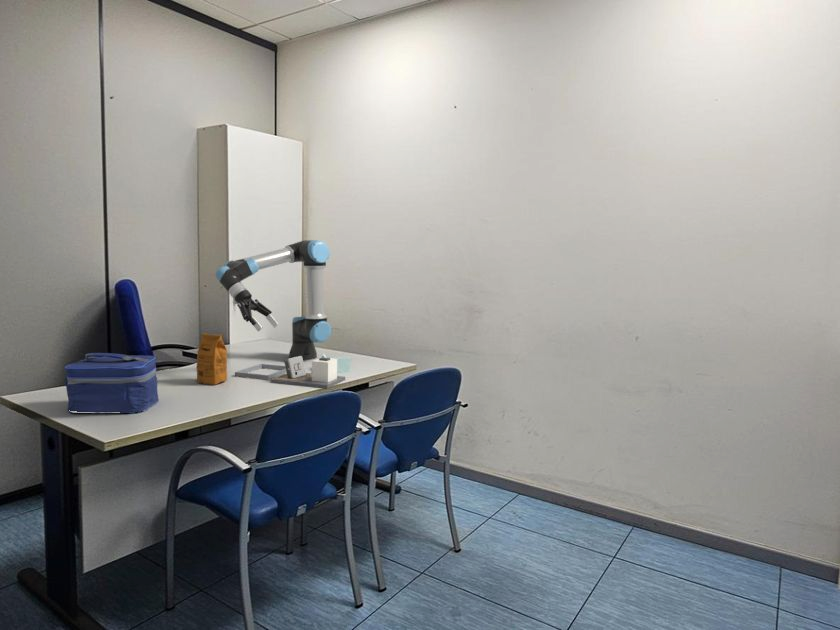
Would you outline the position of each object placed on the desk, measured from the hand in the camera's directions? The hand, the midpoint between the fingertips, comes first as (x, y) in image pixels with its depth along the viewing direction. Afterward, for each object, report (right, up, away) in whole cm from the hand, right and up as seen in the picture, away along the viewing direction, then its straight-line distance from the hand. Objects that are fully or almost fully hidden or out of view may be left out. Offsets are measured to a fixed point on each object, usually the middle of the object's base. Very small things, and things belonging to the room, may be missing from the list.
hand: (268, 327), depth 264 cm
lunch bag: (-43, -29, -54) cm, 75 cm away
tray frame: (-4, -22, +8) cm, 24 cm away
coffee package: (-22, -24, -12) cm, 35 cm away
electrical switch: (+13, -23, -4) cm, 27 cm away
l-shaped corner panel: (+29, -22, +19) cm, 41 cm away
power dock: (+20, -24, -6) cm, 32 cm away
